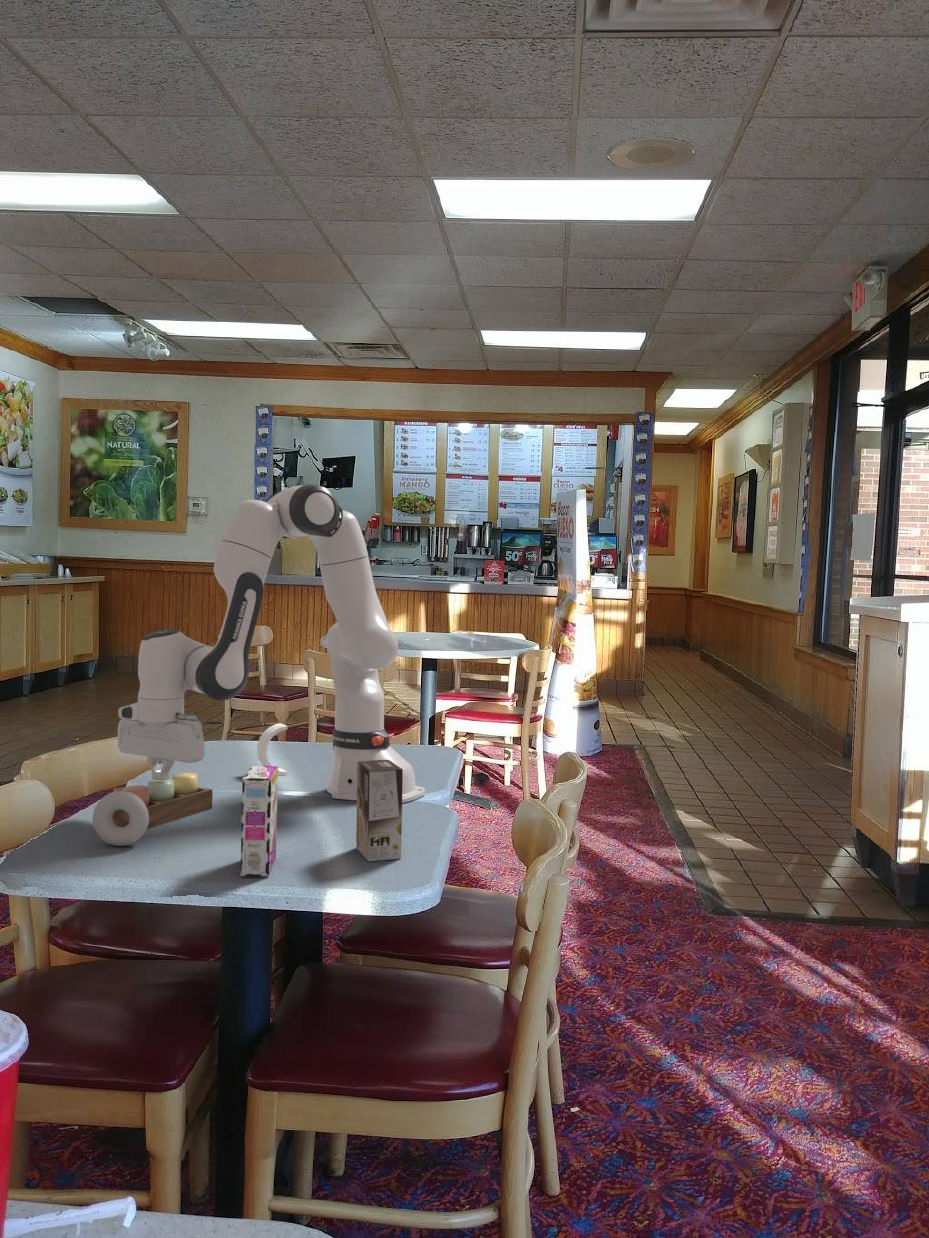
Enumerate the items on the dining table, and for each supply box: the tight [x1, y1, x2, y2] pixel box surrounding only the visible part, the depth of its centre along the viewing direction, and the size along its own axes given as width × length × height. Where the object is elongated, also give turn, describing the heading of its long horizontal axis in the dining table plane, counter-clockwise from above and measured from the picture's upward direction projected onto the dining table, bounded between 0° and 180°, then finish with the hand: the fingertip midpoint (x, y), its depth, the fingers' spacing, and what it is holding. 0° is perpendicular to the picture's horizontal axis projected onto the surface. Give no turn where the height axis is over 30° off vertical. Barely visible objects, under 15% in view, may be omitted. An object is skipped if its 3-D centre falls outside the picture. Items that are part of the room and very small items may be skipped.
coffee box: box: [355, 760, 403, 862], centre depth 172 cm, size 9×6×16 cm
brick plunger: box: [121, 785, 149, 807], centre depth 187 cm, size 5×5×4 cm
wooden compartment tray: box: [112, 786, 213, 830], centre depth 193 cm, size 8×21×4 cm, turn 153°
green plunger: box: [147, 778, 174, 802], centre depth 193 cm, size 5×5×4 cm
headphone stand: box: [256, 723, 288, 777], centre depth 234 cm, size 5×6×12 cm
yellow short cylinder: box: [171, 772, 199, 795], centre depth 199 cm, size 5×5×4 cm
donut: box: [92, 790, 149, 847], centre depth 173 cm, size 10×4×10 cm, turn 90°
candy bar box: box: [239, 765, 279, 878], centre depth 163 cm, size 11×5×16 cm, turn 5°
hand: (160, 779), depth 193 cm, fingers closed
